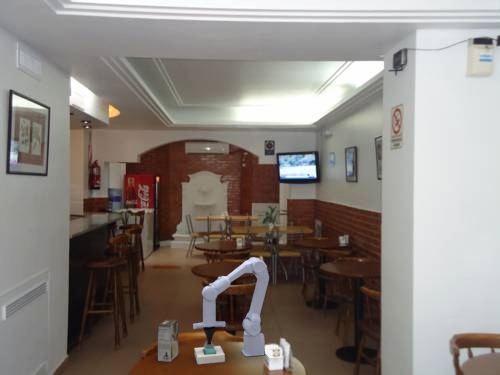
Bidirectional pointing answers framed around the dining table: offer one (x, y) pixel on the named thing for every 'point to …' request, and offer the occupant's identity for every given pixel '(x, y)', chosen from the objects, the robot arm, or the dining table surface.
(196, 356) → the block
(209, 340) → the robot arm
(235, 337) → the dining table surface
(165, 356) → the coffee box
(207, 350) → the plug
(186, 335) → the dining table surface
